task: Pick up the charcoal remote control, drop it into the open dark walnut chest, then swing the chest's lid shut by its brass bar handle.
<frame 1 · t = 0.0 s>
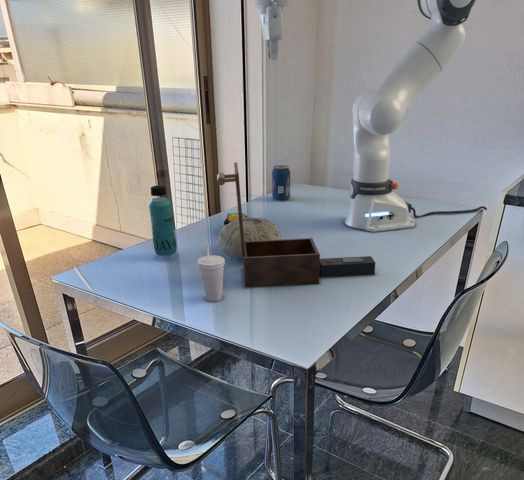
hand: (272, 59, 140), 48 cm above the table, tool pointing down, fingers open, 8 cm apart
smoothie: (214, 298, 121), on the table
lid: (230, 210, 121), point 18 cm above the table, hinge at 92.0°
gadget: (237, 229, 165), on the table
remote: (345, 272, 132), on the table
decorative shell: (250, 255, 145), on the table
chest: (279, 276, 131), on the table
soda can: (281, 199, 195), on the table
beverage bottle: (166, 257, 145), on the table
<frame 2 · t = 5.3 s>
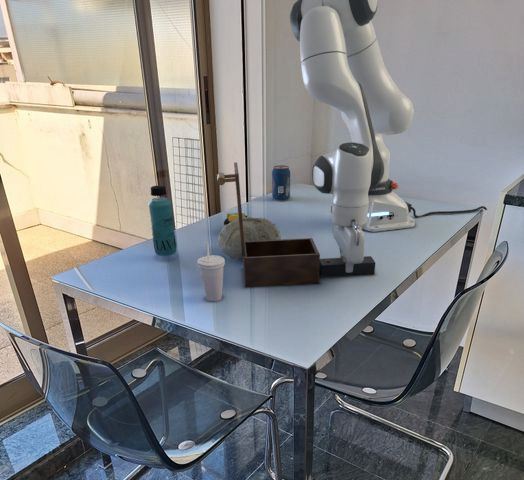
hand: (346, 267, 131), 2 cm above the table, tool pointing down, fingers closed on remote, 4 cm apart
remote: (345, 272, 132), on the table, touching gripper
everything else where it was.
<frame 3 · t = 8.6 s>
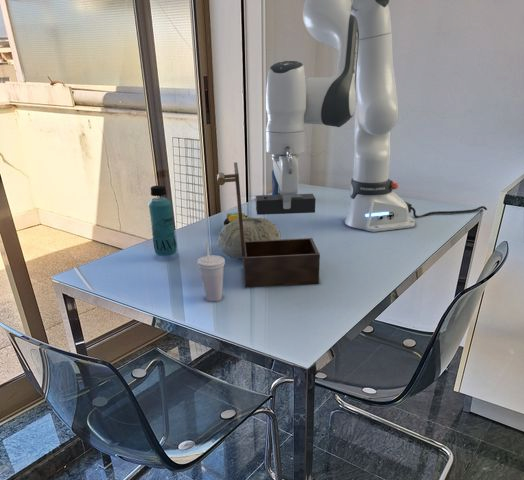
hand: (285, 204, 122), 19 cm above the table, tool pointing down, fingers closed on remote, 4 cm apart
remote: (285, 211, 122), point 17 cm above the table, touching gripper
everything else where it was.
when the fingers open (7 cm above the table, at t = 13.1 s): remote stays where it is, resting on chest.
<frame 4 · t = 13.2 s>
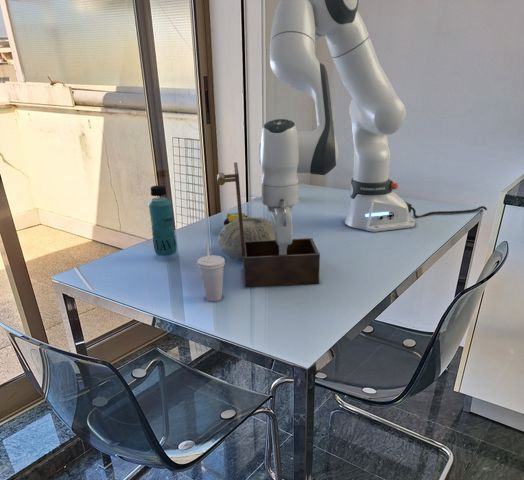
hand: (280, 249, 127), 7 cm above the table, tool pointing down, fingers open, 8 cm apart
remote: (279, 273, 131), point 1 cm above the table, touching chest
everything else where it was.
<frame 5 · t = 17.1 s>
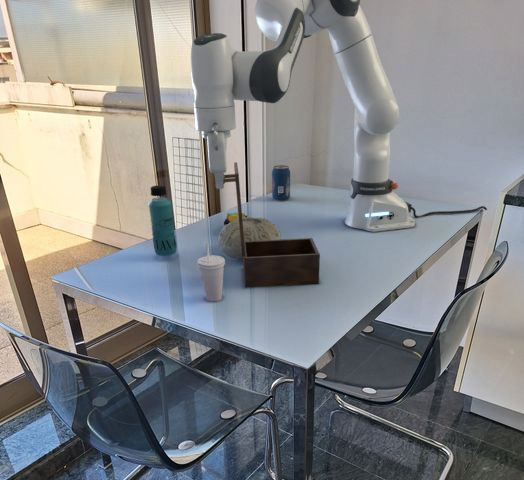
hand: (219, 184, 118), 24 cm above the table, tool pointing down, fingers closed on lid, 5 cm apart
lid: (230, 210, 121), point 18 cm above the table, hinge at 92.0°, touching gripper
everything else where it was.
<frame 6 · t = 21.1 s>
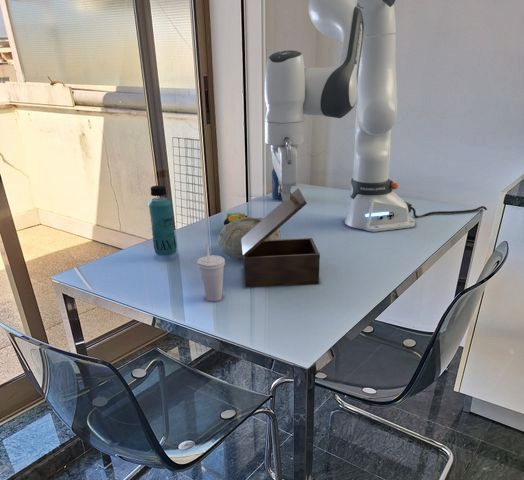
hand: (284, 196, 121), 21 cm above the table, tool pointing down, fingers closed on lid, 5 cm apart
lid: (266, 215, 123), point 16 cm above the table, hinge at 39.7°, touching gripper
everything else where it was.
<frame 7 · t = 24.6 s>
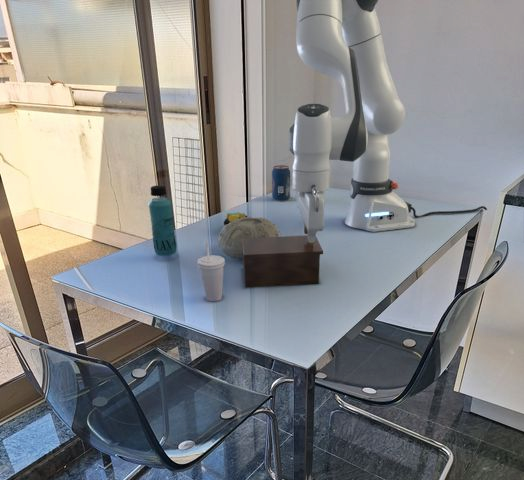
hand: (309, 237, 126), 10 cm above the table, tool pointing down, fingers closed on lid, 5 cm apart
lid: (281, 237, 126), point 10 cm above the table, hinge at -0.2°, touching chest, gripper
everything else where it was.
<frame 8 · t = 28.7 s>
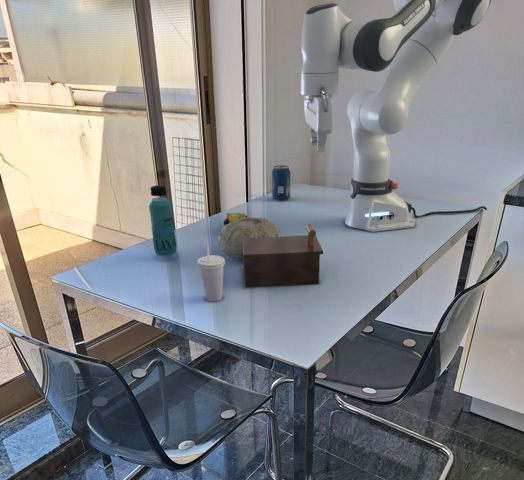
hand: (317, 148, 127), 29 cm above the table, tool pointing down, fingers open, 8 cm apart
lid: (281, 237, 126), point 10 cm above the table, hinge at -0.2°, touching chest
everything else where it was.
at the end: remote inside the target area in the chest (0.0 cm from its centre), point 0.8 cm above the chest's base; lid at +0° (first picture: +92°) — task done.
